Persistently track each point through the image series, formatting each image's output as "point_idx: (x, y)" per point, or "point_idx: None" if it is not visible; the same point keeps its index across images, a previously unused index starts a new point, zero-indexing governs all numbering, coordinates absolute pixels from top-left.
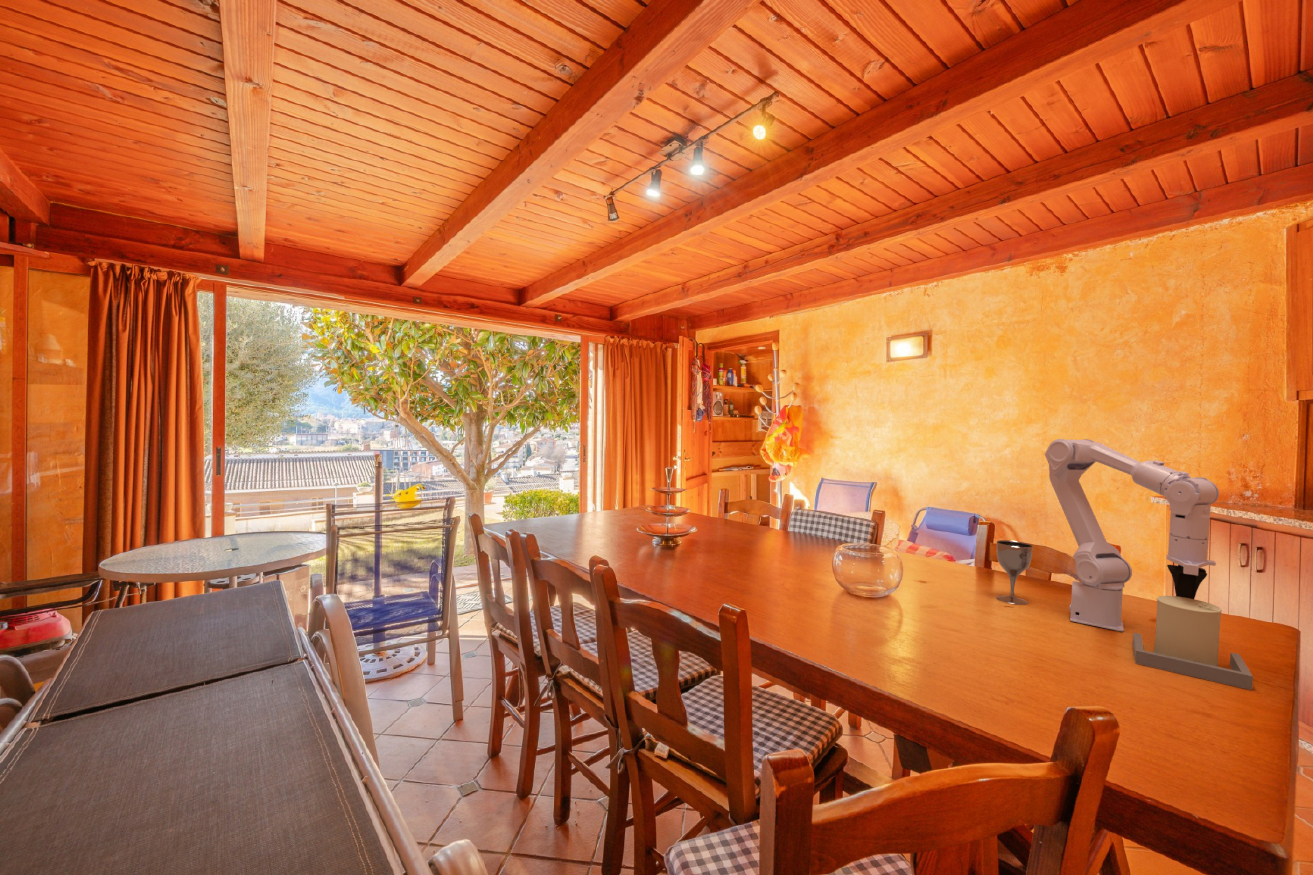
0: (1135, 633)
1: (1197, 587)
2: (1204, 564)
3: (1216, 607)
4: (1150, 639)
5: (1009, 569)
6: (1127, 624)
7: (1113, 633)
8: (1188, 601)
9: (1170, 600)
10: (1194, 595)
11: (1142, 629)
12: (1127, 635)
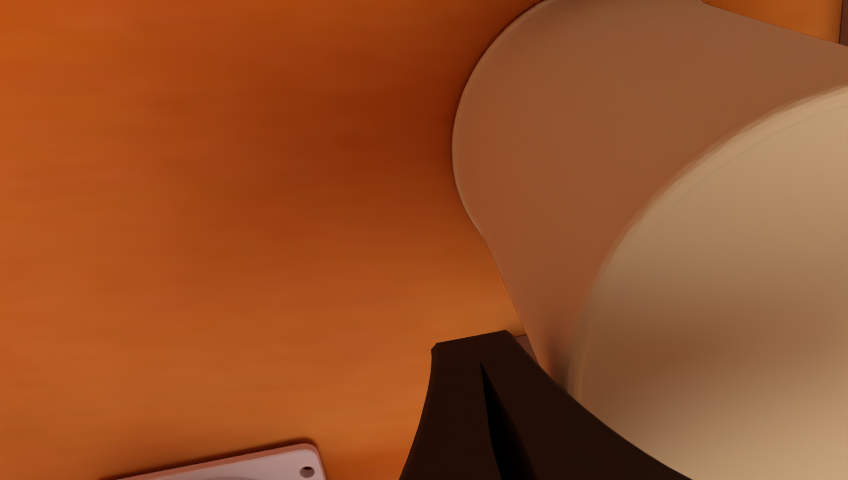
0: None
1: (631, 446)
2: None
3: (808, 134)
4: (307, 327)
5: None
6: (92, 458)
7: (381, 461)
8: (710, 372)
9: (805, 478)
10: (556, 382)
11: (116, 390)
12: (349, 414)
